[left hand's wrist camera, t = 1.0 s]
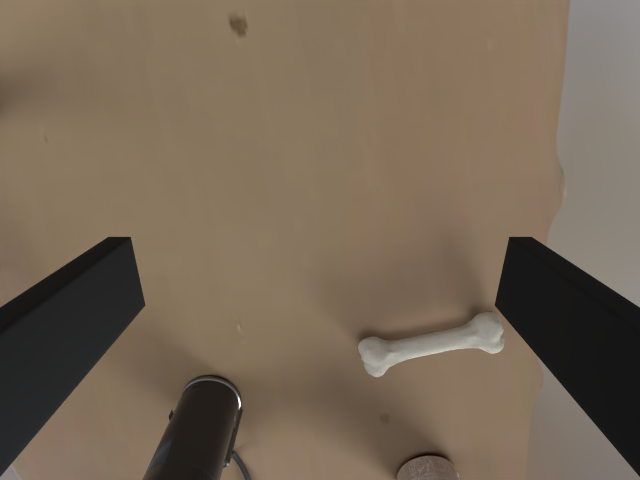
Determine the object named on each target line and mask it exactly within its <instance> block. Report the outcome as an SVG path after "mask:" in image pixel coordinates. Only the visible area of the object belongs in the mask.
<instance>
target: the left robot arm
mask: <svg viewBox="0 0 640 480" xmlns="http://www.w3.org/2000/svg"><path fill="white" fill-rule="evenodd" d="M144 306H145V302H144V297H143V292H142V288H141V283H140V279H139V274H138V269H137V265H136V260H135V255H134V251H133V246H132V241H131V237H108V238H106V239H105V240H103V241H102V242H100V243H98V244H97V245H95V246H94V247H92V248H91V249H89V250H88V251H86V252H85V253H83V254H82V255H80V256H79V257H77V258H76V259H74V260H72V261H71V262H69V263H68V264H66V265H65V266H63V267H62V268H60V269H59V270H57V271H56V272H54V273H53V274H51V275H49V276H48V277H46V278H45V279H43V280H42V281H40V282H39V283H37V284H36V285H34V286H33V287H31V288H30V289H28V290H26V291H25V292H23V293H22V294H20V295H19V296H17V297H16V298H14V299H13V300H11V301H10V302H8V303H7V304H5V305H4V306H2V307H0V476H1V475H2V474H3V473H4V472H5V470H6V469H7V468H8V467H9V466H10V465H11V463H12V462H13V461H14V460H15V459H16V458H17V456H18V455H19V454H20V453H21V452H22V450H23V449H24V448H25V447H26V446H27V445H28V443H29V442H30V441H31V440H32V439H33V437H34V436H35V435H36V434H37V433H38V432H39V430H40V429H41V428H42V427H43V426H44V424H45V423H46V422H47V421H48V420H49V419H50V417H51V416H52V415H53V414H54V413H55V411H56V410H57V409H58V408H59V407H60V406H61V404H62V403H63V402H64V401H65V400H66V398H67V397H68V396H69V395H70V394H71V393H72V391H73V390H74V389H75V388H76V387H77V385H78V384H79V383H80V382H81V381H82V380H83V378H84V377H85V376H86V375H87V374H88V372H89V371H90V370H91V369H92V368H93V367H94V365H95V364H96V363H97V362H98V361H99V359H100V358H101V357H102V356H103V355H104V354H105V352H106V351H107V350H108V349H109V348H110V346H111V345H112V344H113V343H114V342H115V341H116V339H117V338H118V337H119V336H120V335H121V333H122V332H123V331H124V330H125V329H126V328H127V326H128V325H129V324H130V323H131V322H132V320H133V319H134V318H135V317H136V316H137V315H138V313H139V312H140V311H141V310H142V309H143V307H144ZM495 306H496V307H497V309H498V310H499V311H500V312H501V313H502V315H503V316H504V317H505V318H506V319H507V320H508V322H509V323H510V324H511V325H512V326H513V328H514V329H515V330H516V331H517V332H518V333H519V335H520V336H521V337H522V338H523V339H524V341H525V342H526V343H527V344H528V345H529V346H530V348H531V349H532V350H533V351H534V352H535V354H536V355H537V356H538V357H539V358H540V359H541V361H542V362H543V363H544V364H545V365H546V367H547V368H548V369H549V370H550V371H551V372H552V374H553V375H554V376H555V377H556V378H557V380H558V381H559V382H560V383H561V384H562V385H563V387H564V388H565V389H566V390H567V391H568V393H569V394H570V395H571V396H572V397H573V398H574V400H575V401H576V402H577V403H578V404H579V406H580V407H581V408H582V409H583V410H584V411H585V413H586V414H587V415H588V416H589V417H590V419H591V420H592V421H593V422H594V423H595V424H596V426H597V427H598V428H599V429H600V430H601V432H602V433H603V434H604V435H605V436H606V437H607V439H608V440H609V441H610V442H611V443H612V444H613V446H614V447H615V448H616V449H617V450H618V452H619V453H620V454H621V455H622V456H623V457H624V459H625V460H626V461H627V462H628V463H629V465H630V466H631V467H632V468H633V469H634V470H635V472H636V473H637V474H638V475H639V476H640V308H639V307H638V306H636V305H635V304H633V303H632V302H630V301H629V300H627V299H626V298H624V297H623V296H621V295H620V294H618V293H617V292H615V291H613V290H612V289H610V288H609V287H607V286H606V285H604V284H603V283H601V282H600V281H598V280H597V279H595V278H594V277H592V276H591V275H589V274H587V273H586V272H584V271H583V270H581V269H580V268H578V267H577V266H575V265H574V264H572V263H571V262H569V261H567V260H566V259H564V258H563V257H561V256H560V255H558V254H557V253H555V252H554V251H552V250H551V249H549V248H548V247H546V246H545V245H543V244H542V243H540V242H538V241H537V240H535V239H534V238H532V237H509V241H508V246H507V251H506V255H505V260H504V265H503V269H502V274H501V279H500V283H499V288H498V292H497V297H496V302H495Z"/></svg>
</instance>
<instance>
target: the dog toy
mask: <svg viewBox="0 0 640 480" xmlns="http://www.w3.org/2000/svg"><path fill="white" fill-rule="evenodd" d="M502 333H503V327H502V325H501V318H500V317H499V315H498V314H496V313H495V312H483V313H479V314H477V315H476V316H475V317H474V318H473V319H472V320H471V321H469V322H467V323H466V324H464V325H462V326H459V327H455V328H451V329H447V330H442V331H437V332H433V333H428V334H423V335H419V336H414V337H409V338H404V339H399V340H383V339H381V338H379V337H376V336H372V337H368V338H365V339H363V340H361V341H360V343H359V345H358V350H359V352H360V354H361V359H362V360H363V361H364V367H365V369H366V371H367V372H368V373H369V374H370V375H372V376H375V377H380V376H382V375H383V374H384V373H385V371H386V370H387V369H388V368H389V367H390V366H393V365H395V364H397V363H399V362H401V361H404V360H407V359H411V358H415V357H420V356H425V355H429V354H434V353H439V352H444V351H449V350H454V349H462V348H481V349H483V350H485V351H487V352H489V353H497V352H499V351H500V350H502V348H503V347H504V337H503V336H502Z"/></svg>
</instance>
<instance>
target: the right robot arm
mask: <svg viewBox="0 0 640 480" xmlns="http://www.w3.org/2000/svg"><path fill="white" fill-rule="evenodd" d="M240 405H241V396H240V393H239V391H238V390H237V388H236V387H235V386H234V385H233V384H232V383H230V382H229V381H227V380H225V379H222V378H219V377H215V376H202V377H198V378H195V379H193V380H192V381H190V382H189V383H188V384H187V385H186V386H185V388H184V390H183V392H182V395H181V398H180V400H179V402H178V405H177V407H176V409H175V411H174V413H173V411H171V413H170V415H169V420H170V422H169V424H168V426H167V428H166V430H165V432H164V434H163V437H162V439H161V441H160V443H159V445H158V447H157V450H156V452H155V454H154V456H153V458H152V460H151V463H150V465H149V467H148V469H147V471H146V473H145V475H144V478H143V480H220V478H221V474H222V470H223V468H225V467H227V466H228V465H229V463H230V459H231V458H232V457H233V458H234V460H235V461H236V462H237V464H238V465H239V467H240V469H241V471H242V473H243V475H244V477H245V480H250V477H249V474H248V472H247V470H246V468H245V466H244V464H243V462H242V461H241V459H240V458H239V456H238V455H237V454H236V453H235V452H234V451H233V447H234V443H235V439H236V435H237V431H238V427H239V423H240V419H241V415H242V411H243V410H242V409H241V407H240Z"/></svg>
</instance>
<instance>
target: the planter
mask: <svg viewBox="0 0 640 480" xmlns="http://www.w3.org/2000/svg"><path fill="white" fill-rule="evenodd" d="M397 480H460V477H459V474H458V472H457V470H456V468H455V466H454V465H453V464H452V463H451V462H450V461H449V460H447V459H445V458H442V457H439V456H430V455H426V456H420V457H416V458H414V459H412V460H410V461H408V462H407V463H405V464H404V465H403V466H402V467H401V468H400V470H399V472H398V474H397Z"/></svg>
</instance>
